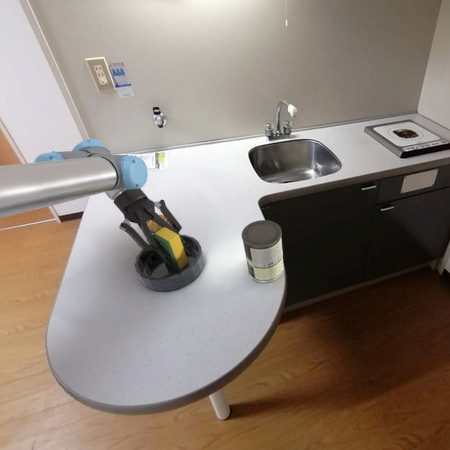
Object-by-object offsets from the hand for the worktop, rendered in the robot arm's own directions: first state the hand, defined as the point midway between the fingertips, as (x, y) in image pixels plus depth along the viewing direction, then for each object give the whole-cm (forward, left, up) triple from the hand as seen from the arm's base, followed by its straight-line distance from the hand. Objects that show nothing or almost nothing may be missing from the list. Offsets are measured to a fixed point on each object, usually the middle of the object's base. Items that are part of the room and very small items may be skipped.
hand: (182, 260), depth 85 cm
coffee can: (+9, -21, -4) cm, 24 cm away
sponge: (+1, +4, -3) cm, 5 cm away
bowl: (-1, +4, -4) cm, 5 cm away
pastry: (+12, +21, -4) cm, 24 cm away
